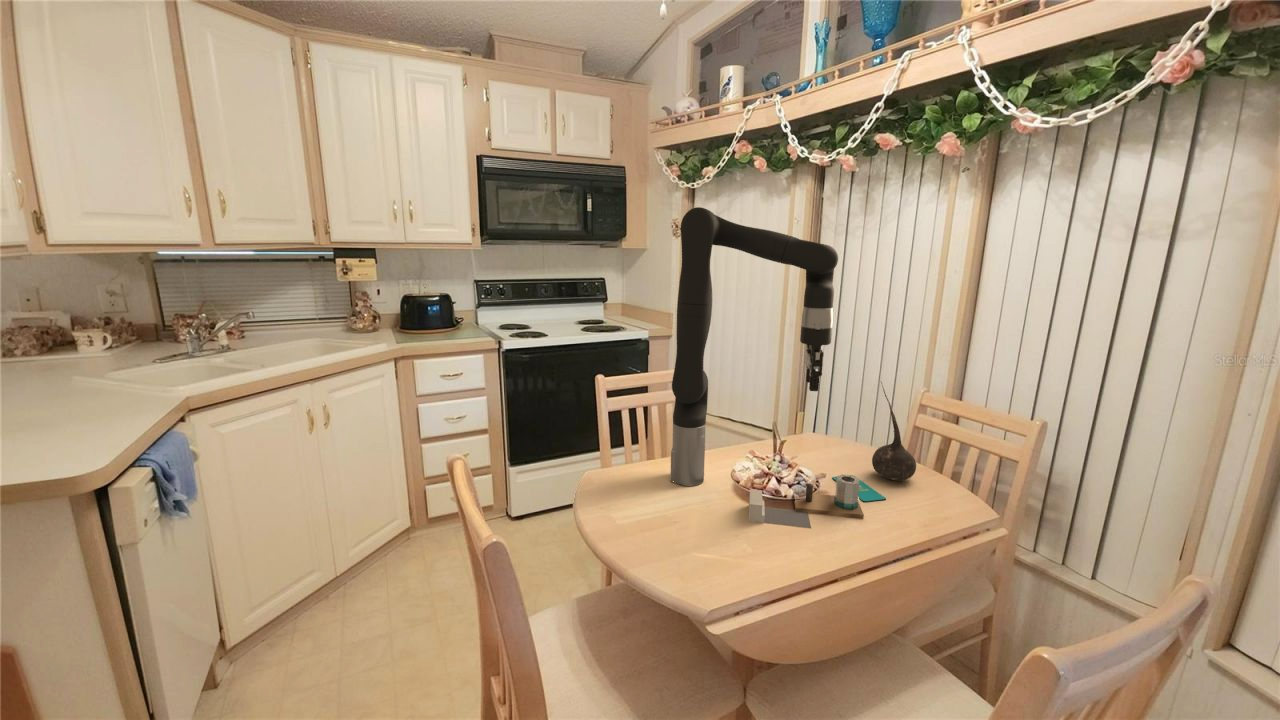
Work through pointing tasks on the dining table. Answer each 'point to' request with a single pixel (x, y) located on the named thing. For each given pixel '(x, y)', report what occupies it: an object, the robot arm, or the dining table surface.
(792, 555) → the dining table surface
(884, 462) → the radish
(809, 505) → the pin board
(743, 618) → the dining table surface
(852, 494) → the sleeve
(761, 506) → the feeder mat
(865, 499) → the smartphone
